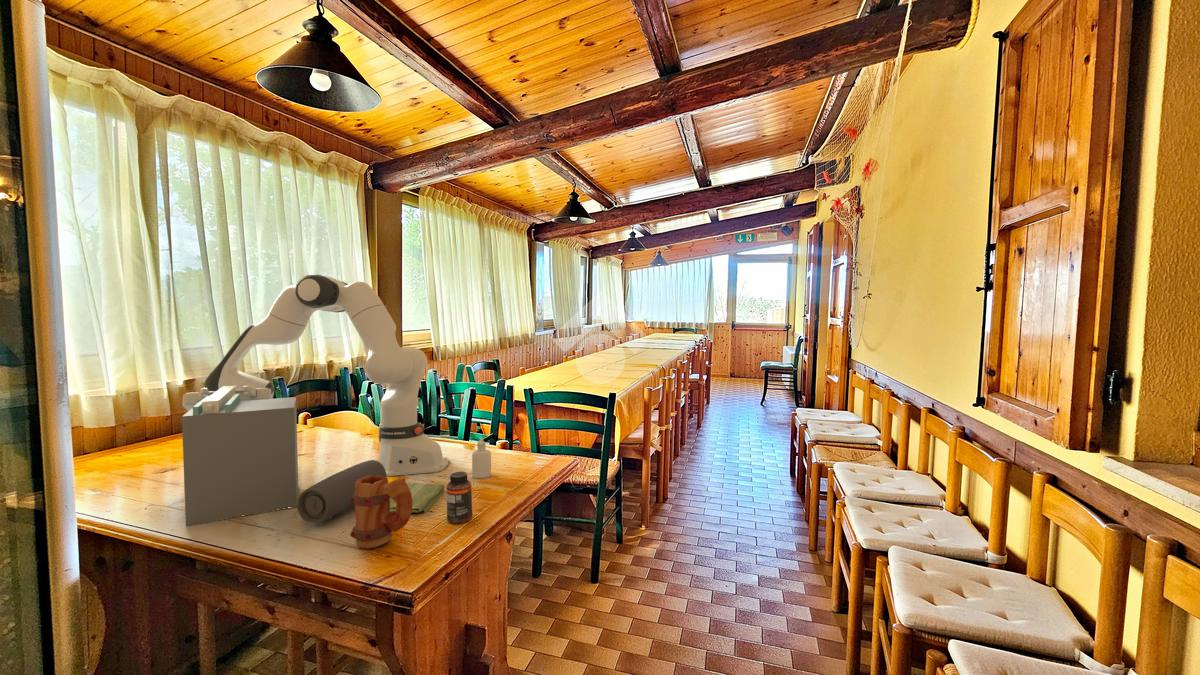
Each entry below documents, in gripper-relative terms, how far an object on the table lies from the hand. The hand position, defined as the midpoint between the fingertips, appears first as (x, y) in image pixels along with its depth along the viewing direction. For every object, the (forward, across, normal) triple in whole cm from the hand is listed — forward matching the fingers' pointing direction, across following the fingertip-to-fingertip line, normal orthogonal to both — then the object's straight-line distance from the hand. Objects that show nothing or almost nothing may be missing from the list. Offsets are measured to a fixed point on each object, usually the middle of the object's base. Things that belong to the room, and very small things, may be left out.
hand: (225, 389), depth 133 cm
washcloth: (+14, +43, +42) cm, 62 cm away
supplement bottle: (+29, +51, +50) cm, 77 cm away
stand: (-3, +6, +32) cm, 32 cm away
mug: (+33, +33, +53) cm, 71 cm away
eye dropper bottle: (+5, +65, +37) cm, 75 cm away
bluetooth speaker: (+11, +28, +40) cm, 50 cm away
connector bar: (+6, 0, +7) cm, 9 cm away
